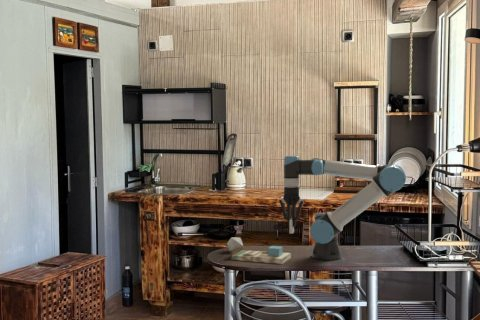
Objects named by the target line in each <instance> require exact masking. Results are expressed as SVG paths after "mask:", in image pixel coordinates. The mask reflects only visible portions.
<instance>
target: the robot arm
mask: <svg viewBox="0 0 480 320" xmlns="http://www.w3.org/2000/svg"><path fill="white" fill-rule="evenodd" d="M283 159H284V160H283V197H282V198H281V199H279V200H278V202H279V204H280V206H281V207H280V208H281V210H282V216H283V219H284V220H287V227H289V231H288V232H289V234H294V233H295V227H296V226H297V225H296V224H297V222H296V221H297V220H299V219H300V216H301V212H302V208H303V205H304V203H305V200H303V199H301V197H300V187H299V186H300V176H321V175H326V176H335V177H343V178H350V179H357V180H358V179H359V180H367V181H371V182H370V183H369V184H367V185H366V186H365V187H363V189H361V190H359V191H358V192H357V193H356V194H354V195H353V196H352V197H350V198H349V199H348V200H346V201H345V202H344V203H342V204H341V205H340V206H338V207H337V208H336V209H335V210H333V211H327V212H316V213H315V215H314V221H313V222H312V223H311V225H310V229H309V234H310V237H311V239H312V240H313V241H314V245H313V248H312V250H311V257H312V258H313V259H316V260H322V261H323V260H324V261H333V260H340V259H341V258H342V252H341V251H342V250H341V248H340V246H339V241H338V238H339V237H338V235H339V234H340V233H342V231H343V230H344V229H343V228H344V226H345V225H347V224H348V223H350V222H351V221H352V220H354V219H355V218H356V217H358V216H359V215H361V213H363V212H364V211H366V210H367V209H368V208H370V207H371V206H372V205H374V204H375V203H376V202H377V201H379V200H380V199H382V198H389V197H390V196H392V194H394V193H395V192H397V191H399V190H401V189H403V187H404V185H405V183H406V180H407V177H406V173H405V171H404V169H403V168H402V167H401V166H400V165H398V164H379V163H377V164H376V165H372V164H371V165H370V164H362V163H353V162H345V161H336V160H328V159H323V158H322V159H320V158H311V159H300V157H299V156H298V155H286V156H284V158H283ZM297 205H298V207H297Z"/></svg>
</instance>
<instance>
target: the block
mask: <svg viewBox="0 0 480 320" xmlns="http://www.w3.org/2000/svg"><path fill="white" fill-rule="evenodd" d="M283 250H284V248H283V246H281V245H279V246H278V245H271V246H269V247H268V248H267V251H268V256H276V257H279V256H281V255H282V254H283V253H284V251H283Z"/></svg>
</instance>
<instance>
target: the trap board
mask: <svg viewBox="0 0 480 320" xmlns="http://www.w3.org/2000/svg"><path fill="white" fill-rule="evenodd" d="M243 248H244V244H243V245H240V246H238V247H236V248H234V249H233V250H231V251H229V252H230V260H231V261H232V260H233V261H240V262H241V261H242V262H245V261H246V262H253V263H265V264H267V263H268V264H278V265H279V264H280V265H283V264H284V263H286V262H287V261H289V260H290V259H291V258H292V257H291V256H292V254H291V252H283V254H282V255H281V256H279V257H276V256H268V250H266V251H263V250H245V249H244V250H243Z"/></svg>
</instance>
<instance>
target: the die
mask: <svg viewBox="0 0 480 320" xmlns="http://www.w3.org/2000/svg"><path fill="white" fill-rule="evenodd" d="M226 245H227V248H228V249H229V250H228V251H229V252H230V251H231V250H233V249H234V248H236V247H238V246H240V245H243V246H244V244H243V240H242V238H241V237H237V236H235V237H230V239H229V240H228V242H226Z"/></svg>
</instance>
